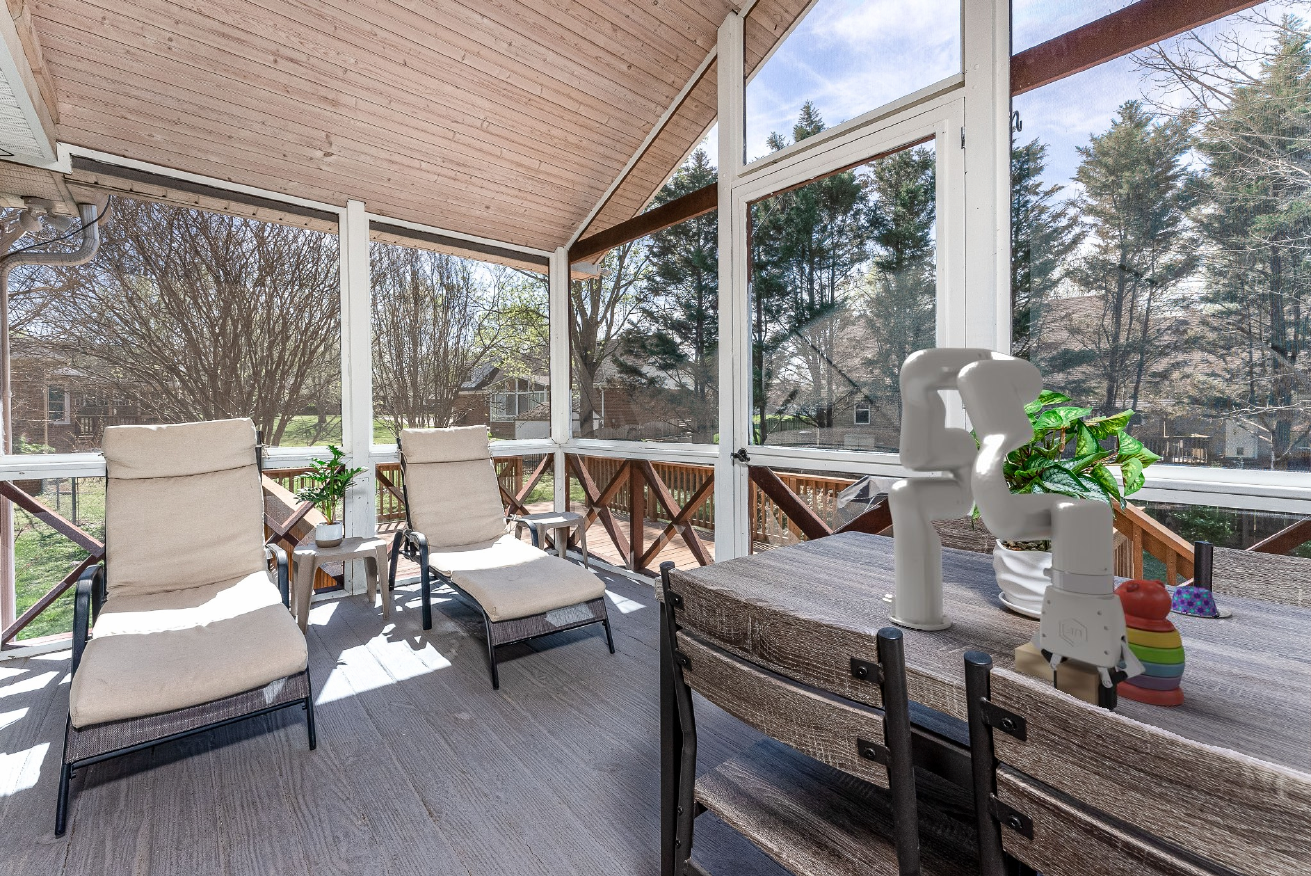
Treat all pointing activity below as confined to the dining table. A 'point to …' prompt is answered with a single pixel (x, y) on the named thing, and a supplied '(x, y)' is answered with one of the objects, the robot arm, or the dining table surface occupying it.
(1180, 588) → the blue patterned hat
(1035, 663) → the oak block
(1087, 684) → the walnut block
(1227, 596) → the dining table surface
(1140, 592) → the stacking bear
